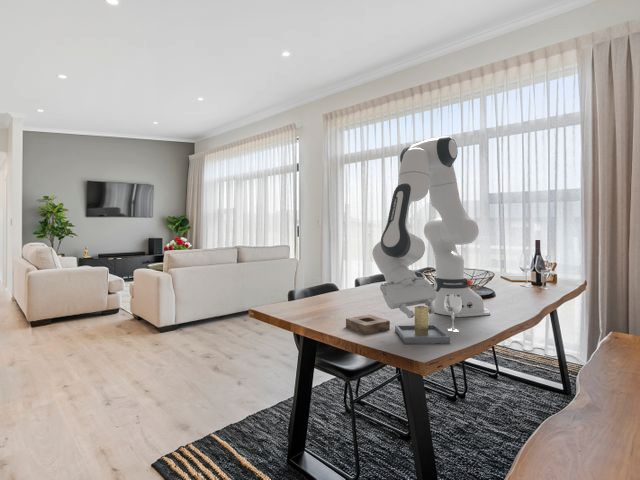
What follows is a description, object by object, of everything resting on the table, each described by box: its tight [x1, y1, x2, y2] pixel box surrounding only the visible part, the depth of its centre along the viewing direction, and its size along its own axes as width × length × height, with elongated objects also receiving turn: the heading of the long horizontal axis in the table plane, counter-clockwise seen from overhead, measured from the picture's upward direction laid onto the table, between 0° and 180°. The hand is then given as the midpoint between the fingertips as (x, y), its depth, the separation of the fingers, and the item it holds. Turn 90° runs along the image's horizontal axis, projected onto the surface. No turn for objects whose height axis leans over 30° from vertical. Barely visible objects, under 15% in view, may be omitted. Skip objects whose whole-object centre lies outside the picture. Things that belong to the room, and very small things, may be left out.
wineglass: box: [444, 294, 462, 333], centre depth 130 cm, size 6×6×12 cm
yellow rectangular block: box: [414, 305, 429, 336], centre depth 123 cm, size 3×3×9 cm
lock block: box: [345, 314, 391, 335], centre depth 134 cm, size 11×11×3 cm
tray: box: [394, 324, 451, 345], centre depth 123 cm, size 14×14×2 cm
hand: (422, 314), depth 122 cm, fingers open, 8 cm apart
